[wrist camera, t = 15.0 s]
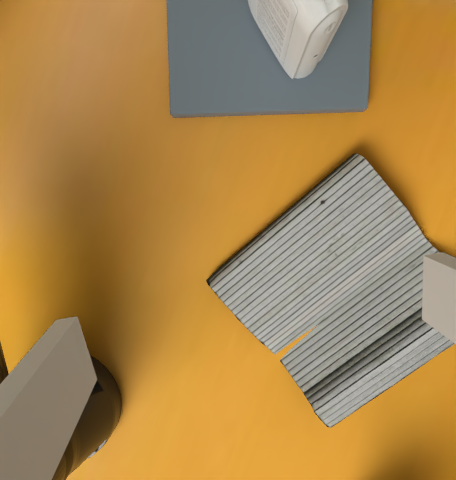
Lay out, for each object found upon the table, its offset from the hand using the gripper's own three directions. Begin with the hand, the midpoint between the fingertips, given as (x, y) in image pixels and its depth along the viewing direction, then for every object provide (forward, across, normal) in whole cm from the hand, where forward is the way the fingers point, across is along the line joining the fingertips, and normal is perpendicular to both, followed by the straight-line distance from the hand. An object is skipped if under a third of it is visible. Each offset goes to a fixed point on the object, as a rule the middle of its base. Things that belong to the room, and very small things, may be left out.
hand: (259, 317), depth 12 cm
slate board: (+29, +9, +19) cm, 36 cm away
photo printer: (+28, +10, +17) cm, 34 cm away
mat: (+24, +13, -12) cm, 30 cm away
